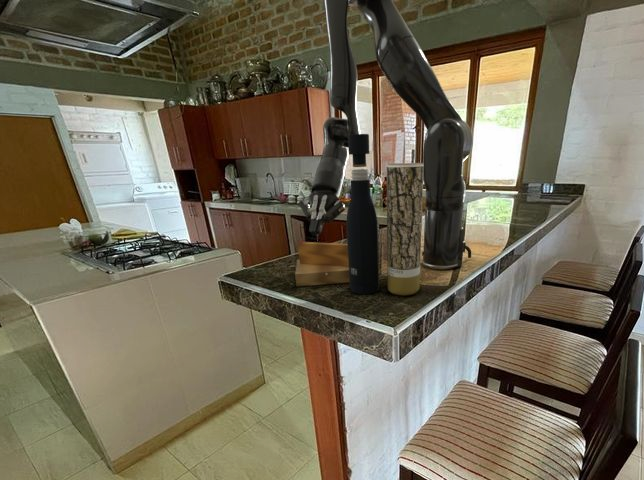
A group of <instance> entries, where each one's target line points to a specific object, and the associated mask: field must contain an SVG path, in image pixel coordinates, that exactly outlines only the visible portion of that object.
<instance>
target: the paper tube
mask: <svg viewBox="0 0 644 480" xmlns="http://www.w3.org/2000/svg"><path fill="white" fill-rule="evenodd" d="M423 177H424V165H423V162H400V163H399V162H397V163H395V162H394V163H387V164H386V250H387V251H386V259H387V260H386V263H387V264H386V269H387V271H386V272H387V290H388V292H389V293H390V294H392V295H395V296H404V297H405V296H411V295H414V294H417V293H418V291H419V290H420V279H421V277H420V275H421V256H422V252H421V251H422V226H423V223H422V222H423V203H424V200H423V199H424V198H423V197H424V180H423Z"/></svg>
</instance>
